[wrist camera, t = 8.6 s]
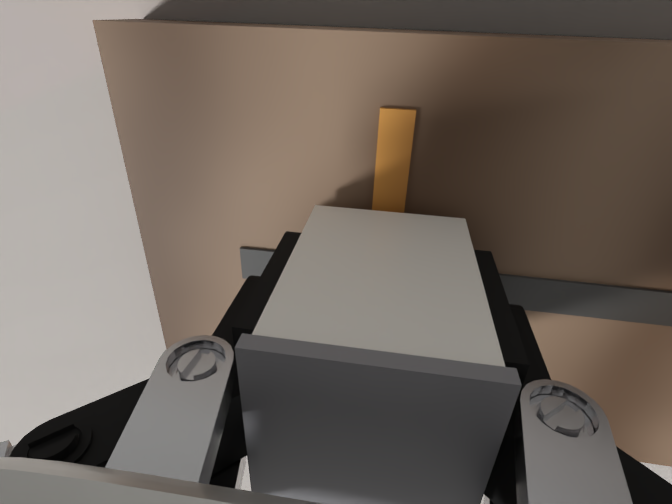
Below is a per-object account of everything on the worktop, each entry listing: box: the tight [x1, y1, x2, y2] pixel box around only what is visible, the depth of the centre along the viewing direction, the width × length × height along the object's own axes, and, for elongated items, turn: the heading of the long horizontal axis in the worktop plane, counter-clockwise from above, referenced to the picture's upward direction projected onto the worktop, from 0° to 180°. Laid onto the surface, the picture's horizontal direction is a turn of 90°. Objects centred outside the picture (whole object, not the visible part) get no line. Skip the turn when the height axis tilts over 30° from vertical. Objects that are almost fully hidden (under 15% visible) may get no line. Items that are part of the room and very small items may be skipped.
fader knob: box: [235, 205, 522, 504], centre depth 9 cm, size 4×5×5 cm
